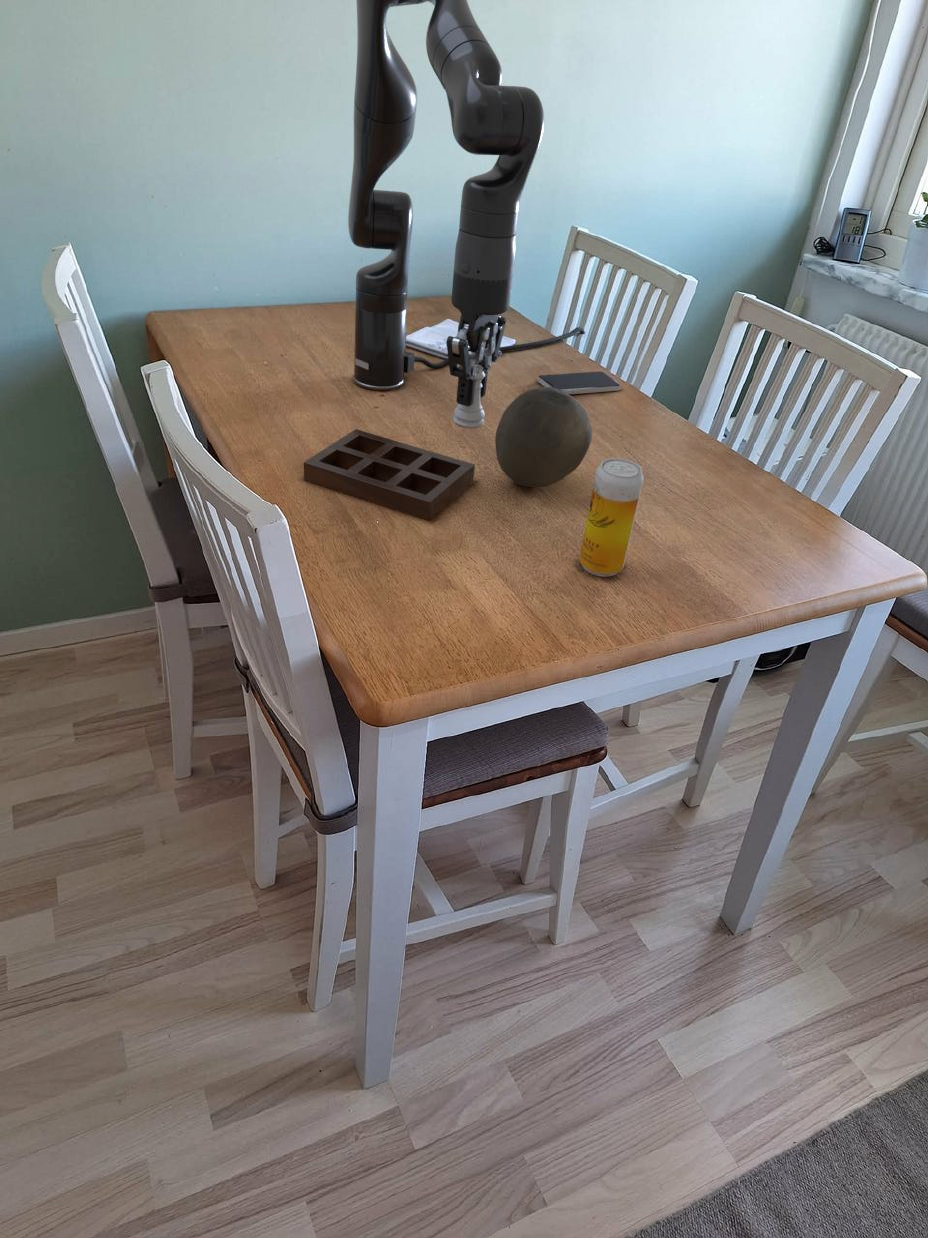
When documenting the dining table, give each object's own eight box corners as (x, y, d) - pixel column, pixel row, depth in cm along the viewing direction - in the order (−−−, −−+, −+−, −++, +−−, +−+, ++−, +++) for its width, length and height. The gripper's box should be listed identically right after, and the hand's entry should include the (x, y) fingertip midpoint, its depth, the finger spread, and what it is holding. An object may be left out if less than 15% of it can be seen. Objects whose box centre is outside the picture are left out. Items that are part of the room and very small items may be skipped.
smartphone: (622, 385, 176) (556, 390, 170) (621, 391, 177) (555, 396, 171) (601, 370, 182) (537, 375, 176) (600, 376, 183) (536, 380, 177)
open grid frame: (355, 445, 146) (355, 428, 144) (473, 481, 139) (475, 464, 137) (303, 480, 135) (303, 461, 133) (428, 520, 128) (430, 502, 126)
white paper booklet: (395, 345, 187) (396, 334, 185) (448, 323, 201) (448, 314, 200) (473, 369, 179) (474, 358, 178) (521, 345, 194) (522, 335, 192)
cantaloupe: (519, 510, 133) (533, 415, 124) (475, 469, 143) (485, 378, 134) (597, 496, 139) (615, 405, 130) (550, 458, 149) (564, 370, 140)
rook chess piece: (480, 431, 122) (487, 375, 117) (449, 426, 122) (454, 369, 118) (487, 419, 125) (493, 364, 121) (456, 414, 126) (461, 359, 121)
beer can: (574, 554, 124) (593, 455, 115) (617, 555, 125) (639, 457, 116) (582, 578, 119) (603, 476, 110) (627, 579, 120) (650, 479, 111)
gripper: (486, 287, 106) (473, 423, 116) (532, 264, 116) (516, 391, 126) (431, 274, 108) (422, 409, 118) (480, 253, 118) (468, 378, 128)
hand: (470, 399), depth 122 cm, fingers closed on rook chess piece, 3 cm apart
